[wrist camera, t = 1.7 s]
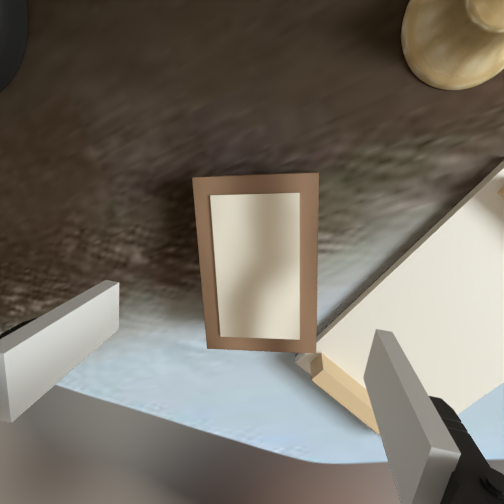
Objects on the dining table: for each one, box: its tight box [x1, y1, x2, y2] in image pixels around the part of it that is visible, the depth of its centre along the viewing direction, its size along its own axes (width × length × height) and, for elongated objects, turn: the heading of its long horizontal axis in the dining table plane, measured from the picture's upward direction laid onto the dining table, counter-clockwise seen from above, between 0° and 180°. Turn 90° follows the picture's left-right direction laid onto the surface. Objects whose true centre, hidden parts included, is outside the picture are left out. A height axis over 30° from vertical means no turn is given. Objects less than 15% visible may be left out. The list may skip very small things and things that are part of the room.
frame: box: [192, 172, 319, 354], centre depth 26 cm, size 9×14×5 cm, turn 2°
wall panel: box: [295, 160, 504, 435], centre depth 25 cm, size 14×24×4 cm, turn 141°
